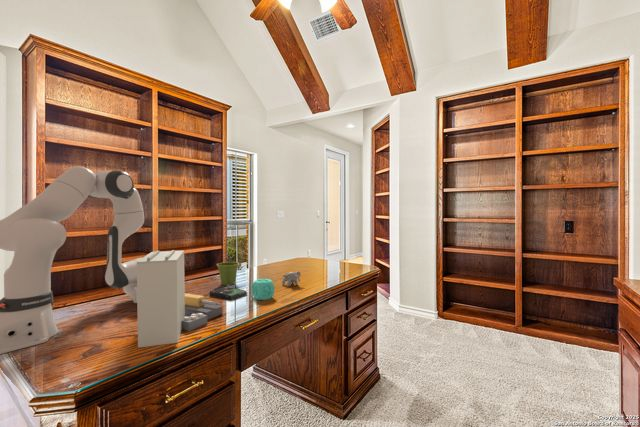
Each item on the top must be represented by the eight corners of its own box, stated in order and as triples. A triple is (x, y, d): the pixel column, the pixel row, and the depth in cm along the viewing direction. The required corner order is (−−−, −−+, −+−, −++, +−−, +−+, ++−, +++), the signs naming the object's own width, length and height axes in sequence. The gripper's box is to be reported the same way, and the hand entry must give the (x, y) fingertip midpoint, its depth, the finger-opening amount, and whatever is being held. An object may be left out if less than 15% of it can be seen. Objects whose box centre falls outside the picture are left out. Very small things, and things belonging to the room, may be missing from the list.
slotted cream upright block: (177, 342, 97) (176, 256, 97) (137, 347, 94) (136, 258, 93) (184, 318, 118) (184, 247, 118) (152, 321, 115) (151, 249, 114)
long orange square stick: (223, 307, 122) (223, 298, 122) (216, 310, 119) (216, 301, 119) (169, 298, 134) (169, 290, 134) (162, 300, 131) (162, 292, 131)
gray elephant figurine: (289, 283, 174) (288, 269, 174) (307, 284, 168) (306, 270, 168) (279, 287, 166) (278, 272, 166) (298, 288, 160) (297, 273, 160)
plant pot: (232, 280, 179) (232, 260, 179) (243, 284, 171) (242, 263, 170) (213, 283, 171) (212, 263, 171) (222, 288, 163) (222, 266, 162)
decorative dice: (267, 294, 151) (267, 278, 151) (274, 298, 144) (274, 281, 144) (251, 297, 146) (251, 280, 146) (258, 301, 140) (258, 283, 140)
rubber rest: (206, 320, 116) (206, 312, 116) (170, 312, 125) (170, 304, 125) (222, 313, 123) (222, 306, 123) (187, 306, 132) (187, 299, 132)
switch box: (189, 331, 106) (189, 320, 106) (179, 328, 108) (179, 317, 108) (207, 323, 113) (207, 313, 113) (197, 321, 116) (197, 310, 116)
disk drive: (209, 297, 148) (231, 301, 141) (208, 291, 148) (231, 295, 141) (225, 291, 157) (247, 295, 150) (225, 286, 157) (247, 290, 150)
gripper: (173, 291, 146) (194, 295, 140) (129, 304, 128) (151, 308, 121) (173, 278, 146) (194, 281, 139) (129, 288, 127) (151, 292, 121)
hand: (173, 294), depth 130 cm, fingers open, 8 cm apart
